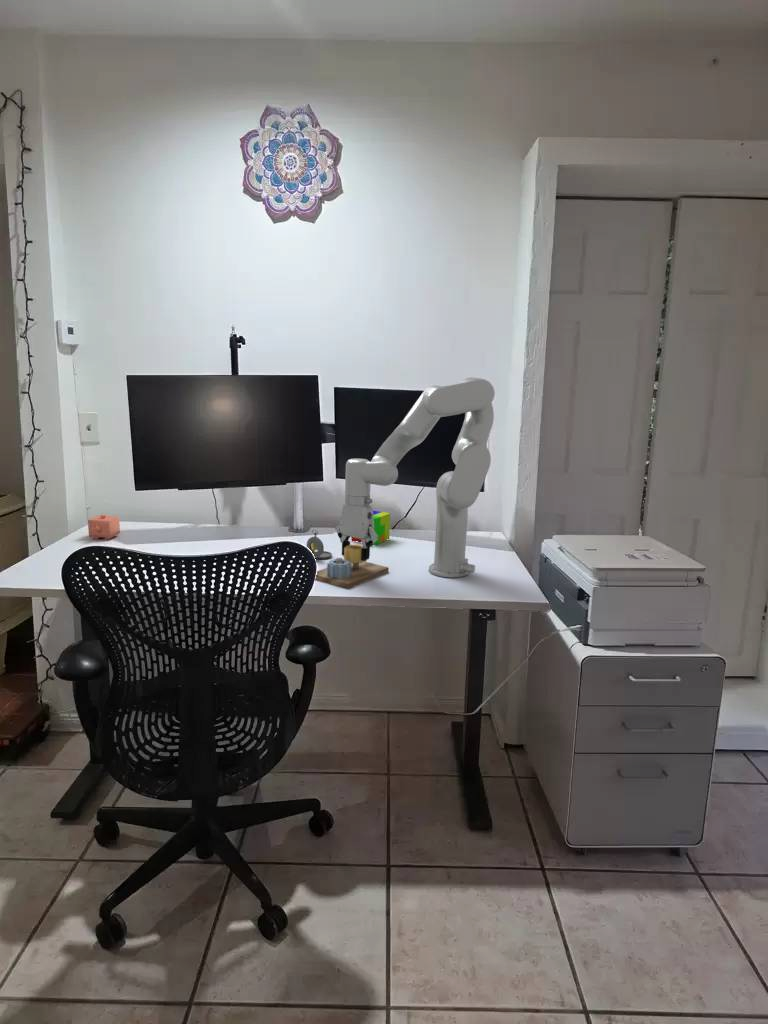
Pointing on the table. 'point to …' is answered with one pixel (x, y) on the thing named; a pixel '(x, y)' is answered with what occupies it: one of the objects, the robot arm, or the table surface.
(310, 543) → the pocket watch
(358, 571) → the gear board
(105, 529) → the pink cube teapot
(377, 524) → the puzzle toy
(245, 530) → the table surface
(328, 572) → the gear
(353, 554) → the gear
